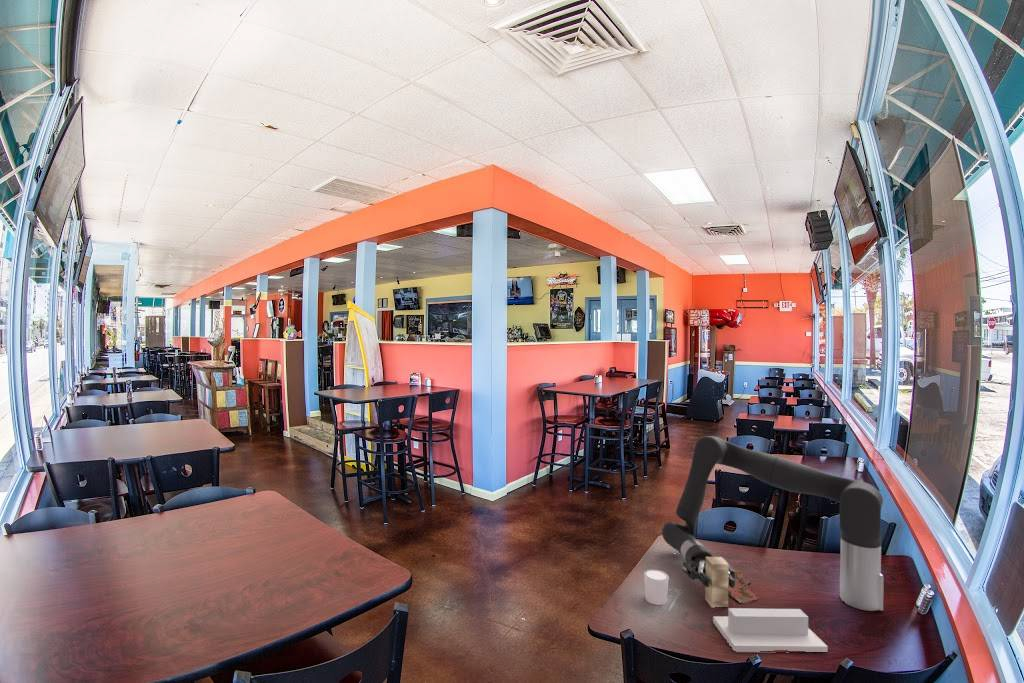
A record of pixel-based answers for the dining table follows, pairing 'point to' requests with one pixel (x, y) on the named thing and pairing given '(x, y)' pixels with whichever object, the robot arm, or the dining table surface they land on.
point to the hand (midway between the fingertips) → (720, 583)
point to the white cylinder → (656, 586)
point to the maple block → (717, 582)
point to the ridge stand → (768, 630)
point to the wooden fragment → (741, 588)
